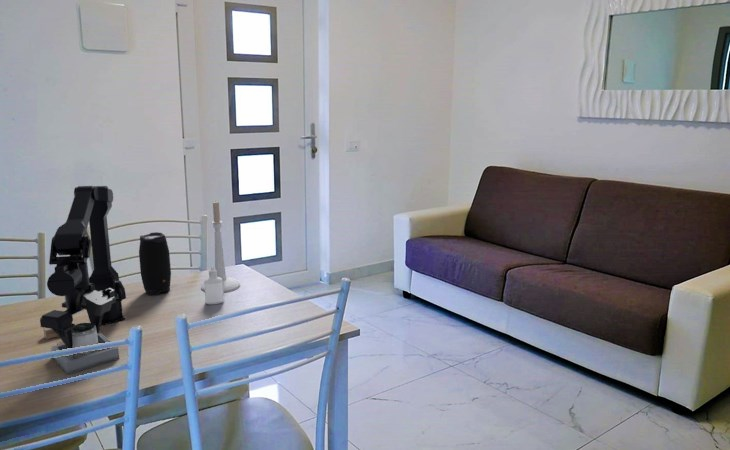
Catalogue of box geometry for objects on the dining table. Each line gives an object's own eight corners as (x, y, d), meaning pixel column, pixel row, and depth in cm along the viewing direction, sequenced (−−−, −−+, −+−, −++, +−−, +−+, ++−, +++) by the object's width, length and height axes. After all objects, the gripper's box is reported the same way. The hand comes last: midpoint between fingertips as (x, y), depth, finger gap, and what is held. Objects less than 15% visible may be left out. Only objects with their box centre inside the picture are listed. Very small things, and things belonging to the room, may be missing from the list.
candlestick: (240, 291, 187) (235, 203, 180) (200, 294, 184) (194, 205, 177) (239, 279, 199) (235, 196, 192) (202, 281, 196) (196, 198, 189)
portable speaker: (174, 293, 185) (169, 236, 181) (144, 298, 181) (139, 240, 176) (169, 285, 193) (164, 230, 188) (140, 290, 188) (135, 234, 184)
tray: (102, 343, 149) (101, 332, 148) (119, 358, 140) (118, 347, 140) (52, 357, 141) (51, 346, 140) (67, 375, 132) (66, 363, 132)
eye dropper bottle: (219, 305, 175) (217, 269, 172) (203, 304, 176) (200, 268, 173) (226, 300, 179) (223, 265, 176) (210, 299, 180) (207, 263, 177)
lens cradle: (72, 329, 157) (71, 321, 157) (89, 345, 147) (87, 336, 147) (44, 336, 153) (43, 328, 152) (60, 354, 143) (58, 345, 142)
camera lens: (87, 361, 137) (83, 332, 135) (66, 359, 138) (61, 330, 136) (105, 350, 143) (101, 321, 141) (83, 348, 144) (79, 319, 142)
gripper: (73, 298, 125) (82, 362, 128) (130, 272, 142) (135, 329, 146) (34, 293, 128) (43, 355, 131) (93, 268, 145) (100, 324, 149)
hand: (83, 340), depth 139 cm, fingers open, 8 cm apart
